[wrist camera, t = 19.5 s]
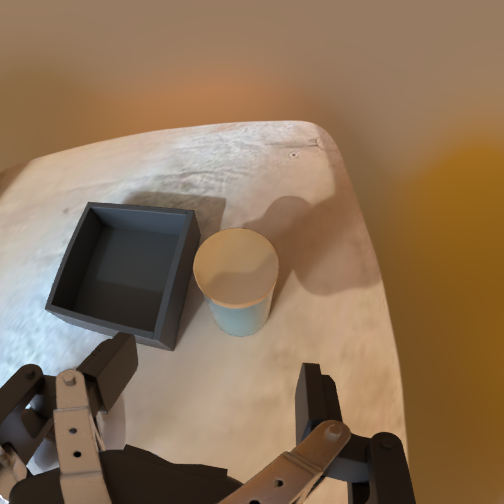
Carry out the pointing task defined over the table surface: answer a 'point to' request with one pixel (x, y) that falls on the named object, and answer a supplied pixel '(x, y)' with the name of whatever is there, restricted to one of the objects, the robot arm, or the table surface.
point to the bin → (127, 271)
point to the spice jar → (237, 279)
